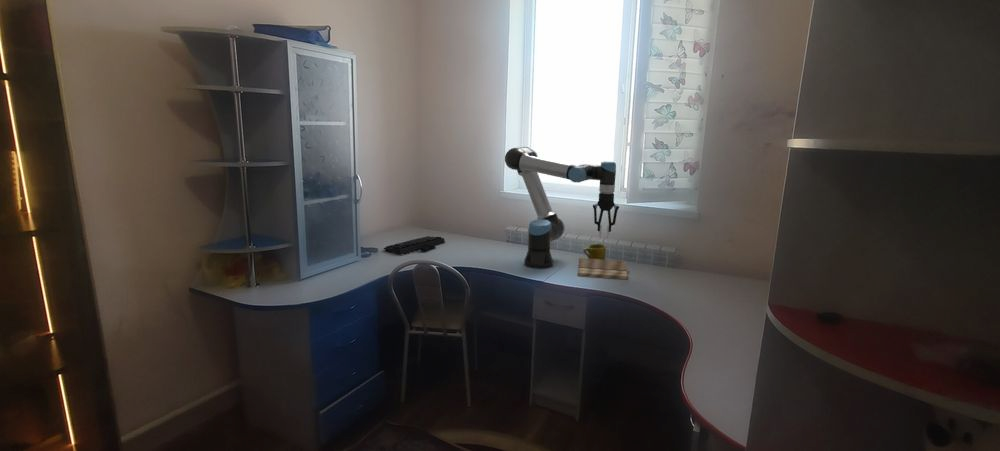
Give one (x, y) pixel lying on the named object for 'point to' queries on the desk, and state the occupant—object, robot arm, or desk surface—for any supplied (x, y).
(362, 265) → the desk surface
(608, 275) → the floor strip
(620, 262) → the plank
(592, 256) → the mug
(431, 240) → the black gun
